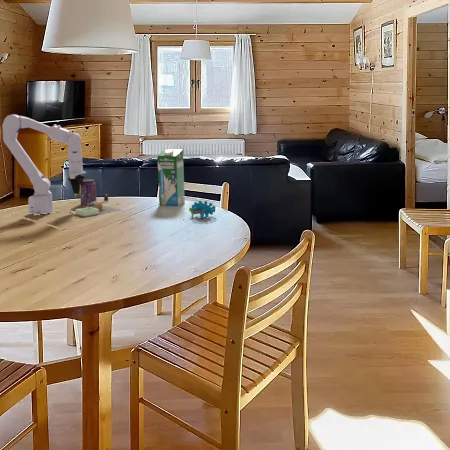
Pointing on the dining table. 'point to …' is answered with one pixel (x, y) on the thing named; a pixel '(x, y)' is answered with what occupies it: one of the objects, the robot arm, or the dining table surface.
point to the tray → (87, 211)
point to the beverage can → (88, 191)
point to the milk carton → (171, 177)
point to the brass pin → (79, 192)
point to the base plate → (103, 209)
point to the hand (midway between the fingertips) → (77, 193)
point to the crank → (99, 201)
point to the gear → (202, 209)
